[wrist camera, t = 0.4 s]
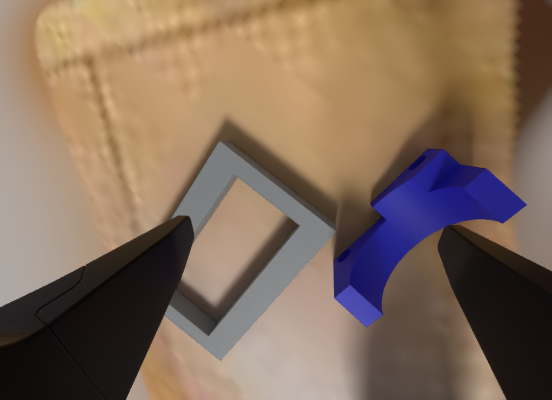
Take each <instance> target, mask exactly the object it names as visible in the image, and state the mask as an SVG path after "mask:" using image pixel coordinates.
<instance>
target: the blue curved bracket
mask: <svg viewBox="0 0 552 400" xmlns="http://www.w3.org/2000/svg"><path fill="white" fill-rule="evenodd" d="M370 204H371V206H372V207H373V208H374V209H375V210H376V211H377V212H378V213H380V214H381V215H382V217H381V218H380V219H379V220H378V221H377V222H376V223H375V224H374V225H373V226H371V227H370V228H369V229H368V230H367V231H366V232H365V233H364V234H363V235H362V236H361V237H359V238H358V239H357V240H356V241H355V242H354V243H353V244H352V245H351V246H350V247H348V248H347V249H346V250H345V251H344V252H343V253H342V254H341V255H340V256H339V257H338V258H336V259H335V260H334V261H333V267H334V298H335V299H336V300H337V301H338V302H339V303H340V304H341V305H342V306H343V307H345V308H346V309H347V310H348V311H349V312H350V313H351V314H352V315H353V316H354V317H356V318H357V319H358V320H359V321H360V322H361V323H362V324H363V325H364V326H366V327H368V326H369V325H370V324H372V323H373V322H374V321H376V320H377V319H378V318H380V317H381V316H382V315H383V312H382V295H383V290H384V287H385V284H386V282H387V280H388V278H389V276H390V274H391V272H392V271H393V269H394V268H395V266H396V265H397V264H398V262H399V261H400V260H401V259H402V258H403V257H404V255H405V254H406V253H407V252H408V251H409V250H411V249H412V248H413V247H414V246H415V245H416V244H418V243H419V242H420V241H422V240H423V239H424V238H426V237H427V236H429V235H431V234H432V233H434V232H436V231H438V230H440V229H442V228H444V227H445V226H447V225H452V224H455V223H458V222H462V221H467V220H474V219H488V220H494V221H498V222H500V223H504V222H505V221H507V220H508V219H509V218H511V217H512V216H513V215H514V214H516V213H517V212H518V211H520V210H521V209H522V208H524V207H525V206H526V204H525V203H524V202H523V201H522V200H521V199H520V198H519V197H518V196H517V195H515V194H514V193H513V192H512V191H511V190H510V189H509V188H508V187H506V186H505V185H504V184H503V183H502V182H501V181H500V180H499V179H497V178H496V177H495V176H494V175H493V174H492V173H491V172H490V171H488V170H487V169H485V168H479V167H473V166H466V165H460V164H459V163H458V162H457V161H456V160H455V159H454V158H452V157H451V156H450V155H449V154H448V153H447V152H446V151H445V150H443V149H427V150H426V151H425V152H424V153H423V154H422V155H421V156H420V157H419V158H418V159H417V160H416V161H415V162H414V163H412V164H411V165H410V166H409V167H408V168H407V169H406V170H405V171H404V172H403V173H402V174H401V175H400V176H399V177H398V178H397V179H396V180H395V181H393V182H392V183H391V184H390V185H389V186H388V187H387V188H386V189H385V190H384V191H383V192H382V193H381V194H380V195H379V196H378V197H377V198H376V199H375V200H373V201H372V202H371V203H370Z"/></svg>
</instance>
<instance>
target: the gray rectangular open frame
mask: <svg viewBox="0 0 552 400" xmlns="http://www.w3.org/2000/svg"><path fill="white" fill-rule="evenodd" d="M237 178H239V179H241V180H242V181H243V182H244V183H246V184H247V185H248V186H250V187H251V188H252V189H253V190H255V191H256V192H257V193H259V194H260V195H261V196H262V197H264V198H265V199H266V200H267V201H269V202H270V203H271V204H273V205H274V206H275V207H276V208H278V209H279V210H280V211H282V212H283V213H284V214H285V215H287V216H288V217H289V218H291V219H292V220H293V221H294V222H296V223H297V224H298V225H297V227H296V228H295V229H294V230H293V231H292V233H291V234H290V235H289V236H288V238H287V239H286V240H285V241H284V242H283V244H282V245H281V246H280V247H279V248H278V250H277V251H276V252H275V253H274V255H273V256H272V257H271V258H270V259H269V261H268V262H267V263H266V264H265V265H264V267H263V268H262V269H261V270H260V271H259V273H258V274H257V275H256V276H255V278H254V279H253V280H252V281H251V282H250V284H249V285H248V286H247V287H246V288H245V290H244V291H243V292H242V293H241V294H240V296H239V297H238V298H237V299H236V301H235V302H234V303H233V304H232V305H231V307H230V308H229V309H228V310H227V311H226V313H225V314H224V315H223V316H222V317H221V319H220V320H219V321H218V322H215V321H214V320H213V319H212V318H210V317H209V316H208V315H207V314H205V313H204V312H203V311H202V310H200V309H199V308H198V307H197V306H196V305H194V304H193V303H192V302H191V301H189V300H188V299H187V298H186V297H184V296H183V295H182V294H181V293H179V292H178V291H177V290H175V293H174V295H173V297H172V299H171V301H170V304H169V306H168V308H167V310H166V312H165V315H164V316H166V317H167V318H168V319H169V320H171V321H172V322H173V323H174V324H175V325H177V326H178V327H179V328H180V329H182V330H183V331H184V332H185V333H187V334H188V335H189V336H190V337H191V338H193V339H194V340H195V341H196V342H198V343H199V344H200V345H201V346H203V347H204V348H205V349H206V350H207V351H209V352H210V353H211V354H212V355H214V356H215V357H216V358H217V359H219V360H220V361H221V360H222V359H223V358H224V356H225V355H226V354H227V353H228V352H229V351H230V350H231V349H232V347H233V346H234V345H235V344H236V343H237V342H238V341H239V340H240V339H241V337H242V336H243V335H244V334H245V333H246V332H247V331H248V330H249V328H250V327H251V326H252V325H253V324H254V323H255V322H256V321H257V319H258V318H259V317H260V316H261V315H262V314H263V313H264V312H265V311H266V309H267V308H268V307H269V306H270V305H271V304H272V303H273V302H274V300H275V299H276V298H277V297H278V296H279V295H280V294H281V293H282V292H283V290H284V289H285V288H286V287H287V286H288V285H289V284H290V283H291V281H292V280H293V279H294V278H295V277H296V276H297V275H298V274H299V272H300V271H301V270H302V269H303V268H304V267H305V266H306V265H307V264H308V262H309V261H310V260H311V259H312V258H313V257H314V256H315V255H316V253H317V252H318V251H319V250H320V249H321V248H322V247H323V246H324V245H325V243H326V242H327V241H328V240H329V239H330V238H331V237H332V236H333V234H334V233H335V232H336V224H335V223H334V222H332V221H331V220H330V219H328V218H327V217H326V216H325V215H323V214H322V213H321V212H319V211H318V210H317V209H316V208H314V207H313V206H312V205H310V204H309V203H308V202H307V201H305V200H304V199H303V198H301V197H300V196H299V195H297V194H296V193H295V192H294V191H292V190H291V189H290V188H288V187H287V186H286V185H285V184H283V183H282V182H281V181H279V180H278V179H277V178H276V177H274V176H273V175H272V174H270V173H269V172H268V171H267V170H265V169H264V168H263V167H261V166H260V165H259V164H257V163H256V162H255V161H254V160H252V159H251V158H250V157H248V156H247V155H246V154H245V153H243V152H242V151H241V150H239V149H238V148H237V147H236V146H234V145H233V144H232V143H230V142H229V141H219V143H218V144H217V146H216V147H215V149H214V151H213V152H212V154H211V156H210V157H209V159H208V160H207V162H206V164H205V165H204V167H203V168H202V170H201V172H200V173H199V175H198V176H197V178H196V180H195V181H194V183H193V184H192V186H191V188H190V189H189V191H188V192H187V194H186V196H185V197H184V199H183V200H182V202H181V204H180V205H179V207H178V208H177V210H176V212H175V213H174V215H173V216H172V218H174V217H176V216H178V215H187V216H189V217H190V218H191V221H192V226H193V230H194V241H195V239H196V238H197V236H198V235H199V233H200V232H201V230H202V229H203V228H204V226H205V225H206V223H207V222H208V220H209V219H210V217H211V216H212V214H213V213H214V211H215V210H216V208H217V207H218V206H219V204H220V203H221V201H222V200H223V198H224V197H225V195H226V194H227V192H228V191H229V189H230V188H231V186H232V185H233V184H234V182H235V181H236V179H237ZM172 218H171V219H172ZM194 241H193V242H194Z"/></svg>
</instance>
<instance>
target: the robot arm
mask: <svg viewBox="0 0 552 400" xmlns="http://www.w3.org/2000/svg"><path fill="white" fill-rule="evenodd" d="M193 241H194V230H193V226H192V221H191V218H190V217H189V216H187V215H178V216H176V217H174V218H172V219H170V220H168V221H166V222H165V223H163V224H161V225H159V226H157V227H155V228H153V229H152V230H150V231H148V232H146V233H144V234H142V235H140V236H138V237H137V238H135V239H133V240H131V241H129V242H127V243H125V244H123V245H122V246H120V247H118V248H116V249H114V250H112V251H110V252H109V253H107V254H105V255H103V256H101V257H99V258H97V259H96V260H94V261H92V262H90V263H88V264H86V266H83V267H80V268H79V269H77V270H75V271H73V272H71V273H69V274H67V275H65V276H64V277H61V278H60V279H58V280H56V281H54V282H52V283H50V284H48V285H46V286H43V287H42V288H39V289H37V290H35V291H33V292H31V293H29V294H27V295H25V296H23V297H21V298H19V299H16V300H14V301H12V302H10V303H8V304H6V305H4V306H2V307H0V400H126V398H127V396H128V394H129V392H130V389H131V387H132V385H133V383H134V381H135V378H136V376H137V374H138V372H139V370H140V367H141V365H142V363H143V361H144V359H145V356H146V354H147V352H148V350H149V348H150V345H151V343H152V341H153V339H154V337H155V334H156V332H157V330H158V328H159V326H160V323H161V321H162V319H163V317H164V315H165V312H166V310H167V308H168V306H169V304H170V301H171V299H172V297H173V295H174V293H175V290H176V288H177V286H178V284H179V281H180V279H181V277H182V274H183V272H184V269H185V266H186V263H187V259H188V256H189V253H190V250H191V247H192V244H193ZM438 251H439V254H440V257H441V260H442V262H443V265H444V268H445V271H446V274H447V276H448V279H449V282H450V284H451V287H452V289H453V292H454V294H455V296H456V298H457V300H458V302H459V304H460V306H461V308H462V310H463V312H464V314H465V316H466V318H467V320H468V322H469V324H470V327H471V329H472V331H473V333H474V335H475V337H476V339H477V341H478V343H479V345H480V347H481V349H482V351H483V353H484V355H485V357H486V359H487V361H488V363H489V365H490V367H491V369H492V371H493V373H494V375H495V377H496V379H497V381H498V383H499V385H500V387H501V389H502V391H503V393H504V395H505V398H506V400H552V271H550V270H548V269H546V268H544V267H542V266H540V265H538V264H536V263H534V262H532V261H530V260H528V259H526V258H524V257H522V256H520V255H518V254H517V253H515V252H513V251H511V250H509V249H507V248H505V247H503V246H501V245H499V244H497V243H495V242H493V241H491V240H489V239H487V238H485V237H483V236H481V235H479V234H477V233H475V232H473V231H471V230H469V229H467V228H465V227H463V226H460V225H447V226H445V228H444V230H443V232H442V235H441V237H440V240H439V242H438Z"/></svg>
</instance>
